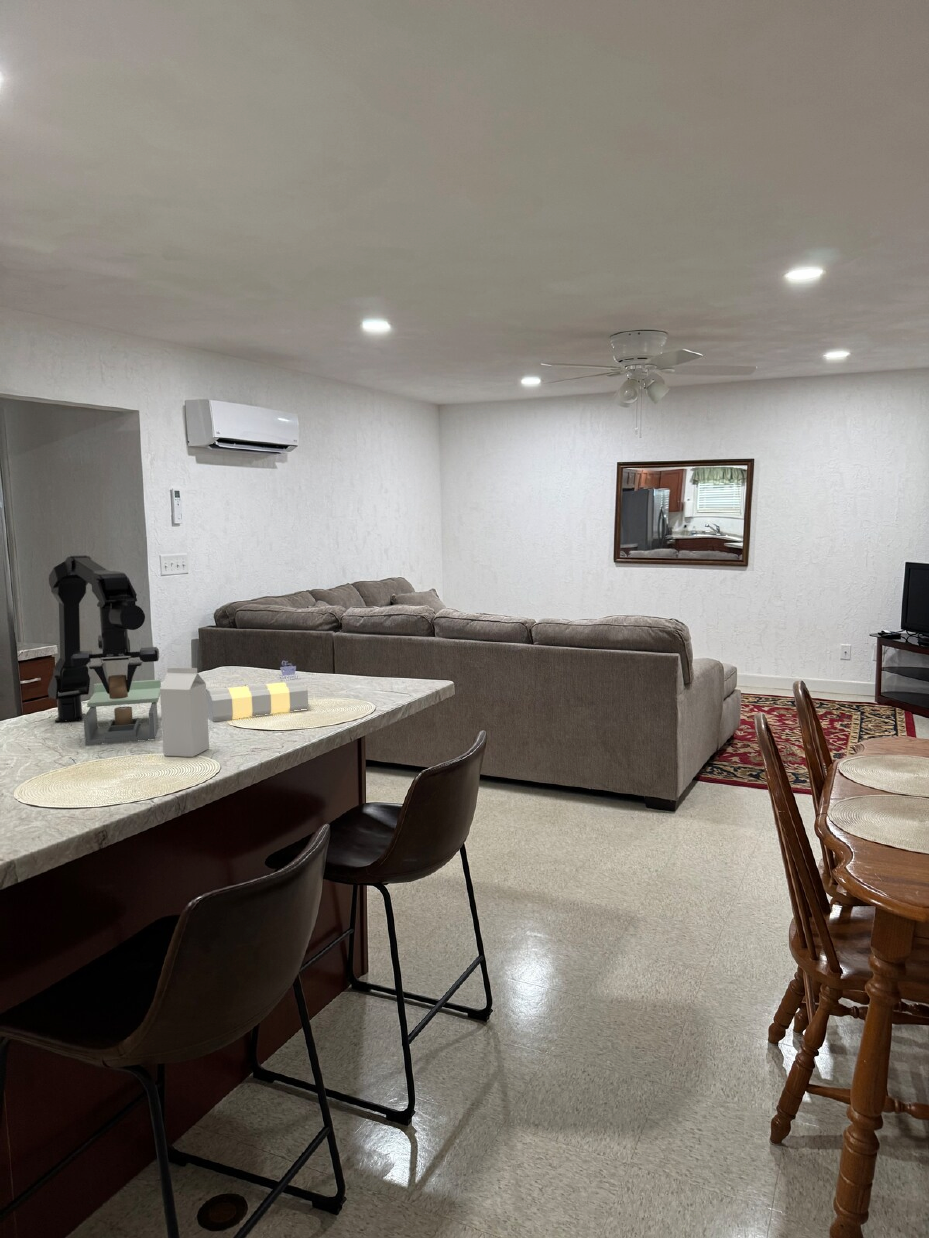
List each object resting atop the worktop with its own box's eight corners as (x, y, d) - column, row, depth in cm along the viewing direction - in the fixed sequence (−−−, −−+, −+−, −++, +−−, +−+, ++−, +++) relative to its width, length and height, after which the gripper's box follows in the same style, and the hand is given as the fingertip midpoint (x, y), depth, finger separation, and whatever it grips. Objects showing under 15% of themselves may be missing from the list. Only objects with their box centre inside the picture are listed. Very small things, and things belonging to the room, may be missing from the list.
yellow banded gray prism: (297, 705, 234) (295, 658, 233) (308, 712, 225) (306, 664, 224) (205, 715, 223) (203, 667, 221) (213, 723, 214) (210, 673, 212)
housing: (93, 731, 206) (91, 705, 206) (158, 726, 211) (156, 700, 210) (85, 745, 193) (83, 717, 192) (154, 739, 197) (153, 712, 197)
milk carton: (193, 757, 182) (188, 671, 179) (163, 756, 183) (158, 670, 181) (209, 748, 189) (205, 665, 186) (180, 747, 190) (176, 664, 188)
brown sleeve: (108, 699, 195) (107, 678, 195) (110, 696, 199) (109, 675, 198) (126, 698, 196) (125, 676, 196) (128, 694, 200) (127, 673, 200)
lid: (95, 695, 216) (94, 683, 216) (161, 690, 221) (160, 679, 221) (87, 707, 202) (86, 695, 202) (157, 702, 207) (157, 690, 206)
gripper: (158, 621, 206) (162, 683, 208) (76, 625, 201) (80, 689, 203) (155, 626, 196) (159, 692, 197) (68, 630, 190) (73, 698, 192)
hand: (118, 692), depth 198 cm, fingers closed on brown sleeve, 4 cm apart
